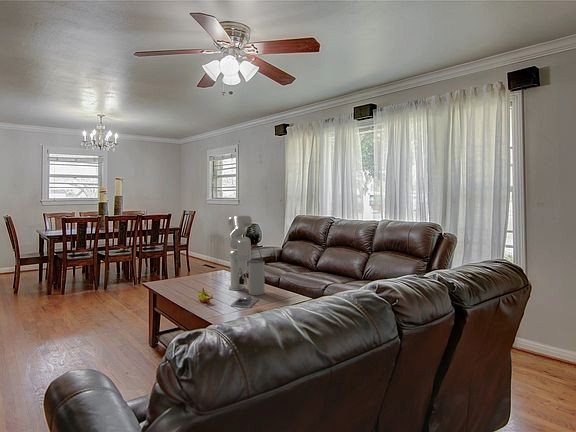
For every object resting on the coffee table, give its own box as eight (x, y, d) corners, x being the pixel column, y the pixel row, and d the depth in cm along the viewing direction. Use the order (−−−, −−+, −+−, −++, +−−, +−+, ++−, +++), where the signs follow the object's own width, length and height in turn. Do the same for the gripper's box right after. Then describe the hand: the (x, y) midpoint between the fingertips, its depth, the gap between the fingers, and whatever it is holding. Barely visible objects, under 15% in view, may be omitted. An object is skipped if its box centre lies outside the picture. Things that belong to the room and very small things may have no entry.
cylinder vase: (265, 291, 297) (265, 260, 296) (263, 295, 285) (263, 263, 283) (250, 291, 299) (250, 260, 297) (247, 295, 286) (247, 263, 285)
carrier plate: (240, 298, 278) (240, 295, 278) (258, 299, 275) (258, 296, 275) (230, 306, 259) (230, 302, 258) (249, 307, 256) (249, 304, 255)
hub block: (240, 283, 265) (240, 276, 265) (246, 283, 264) (246, 276, 264) (238, 284, 260) (238, 277, 260) (244, 285, 259) (244, 278, 259)
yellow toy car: (204, 305, 260) (204, 291, 260) (194, 299, 275) (194, 286, 274) (213, 303, 264) (213, 290, 264) (203, 297, 279) (203, 284, 278)
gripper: (241, 255, 270) (241, 280, 271) (233, 259, 253) (233, 285, 255) (251, 256, 268) (251, 280, 269) (243, 260, 252) (243, 286, 253)
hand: (242, 283), depth 262 cm, fingers closed on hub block, 4 cm apart
